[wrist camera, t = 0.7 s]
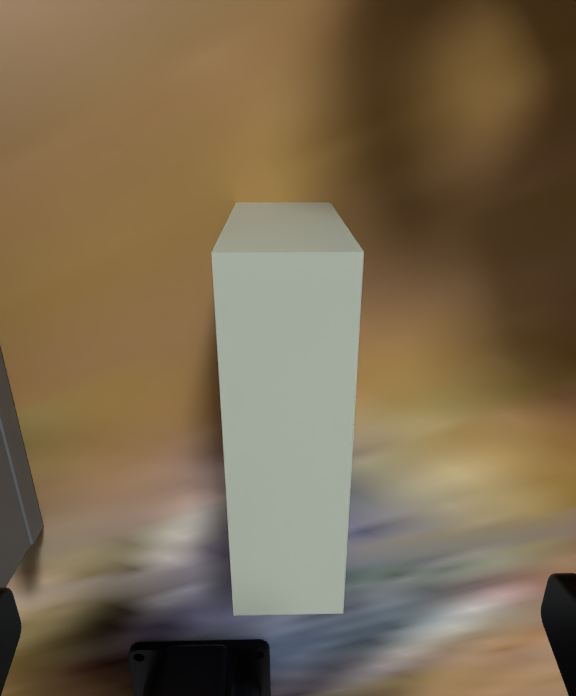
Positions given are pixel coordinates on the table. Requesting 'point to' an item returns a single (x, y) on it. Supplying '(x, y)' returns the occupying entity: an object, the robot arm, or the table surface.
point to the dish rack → (14, 489)
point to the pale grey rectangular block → (287, 401)
